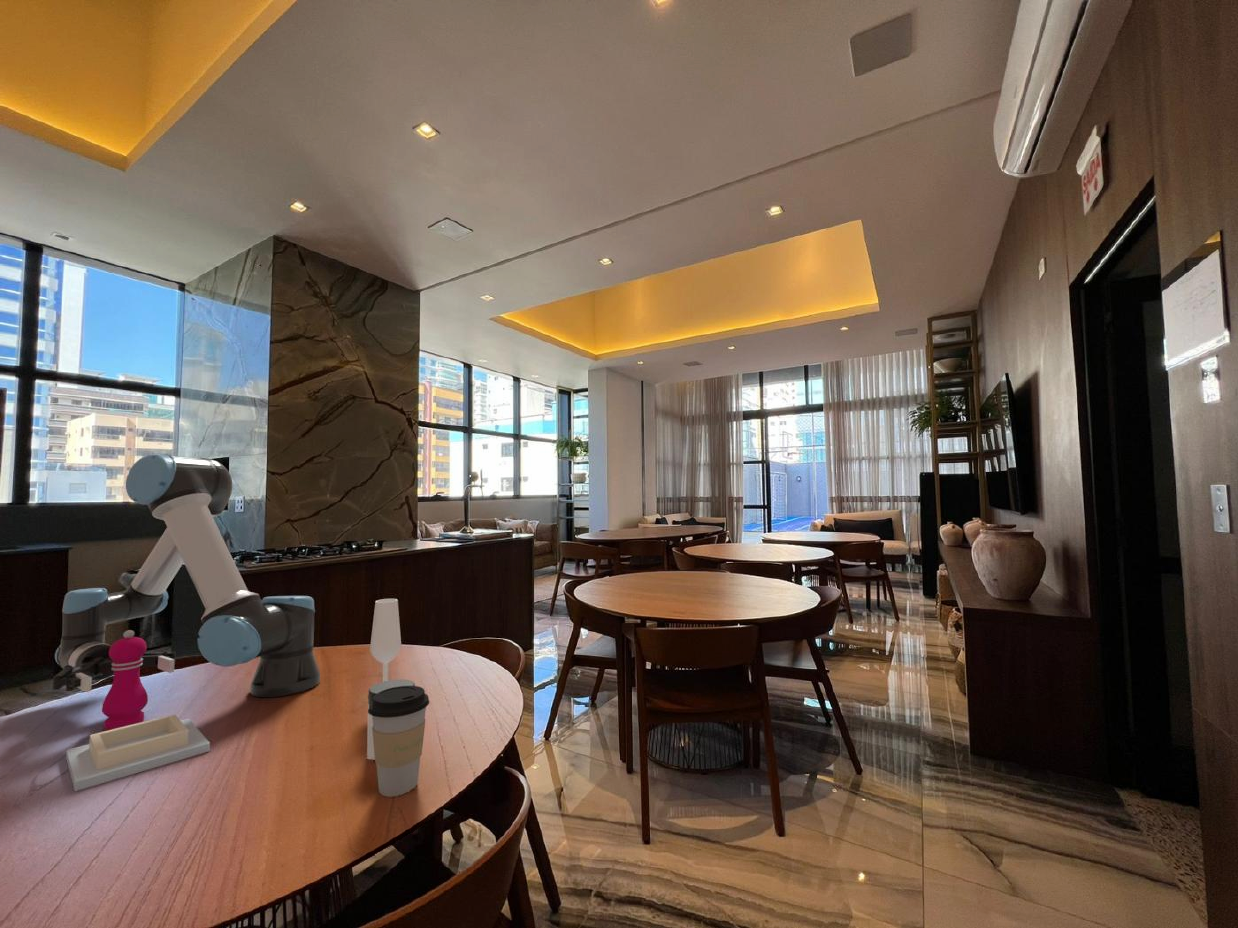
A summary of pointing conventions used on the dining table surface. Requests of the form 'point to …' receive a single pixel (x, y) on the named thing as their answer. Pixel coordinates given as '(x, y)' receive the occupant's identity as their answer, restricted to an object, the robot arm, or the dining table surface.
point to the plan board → (134, 750)
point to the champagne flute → (385, 633)
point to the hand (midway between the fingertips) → (132, 674)
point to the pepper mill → (125, 683)
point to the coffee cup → (398, 737)
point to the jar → (372, 693)
